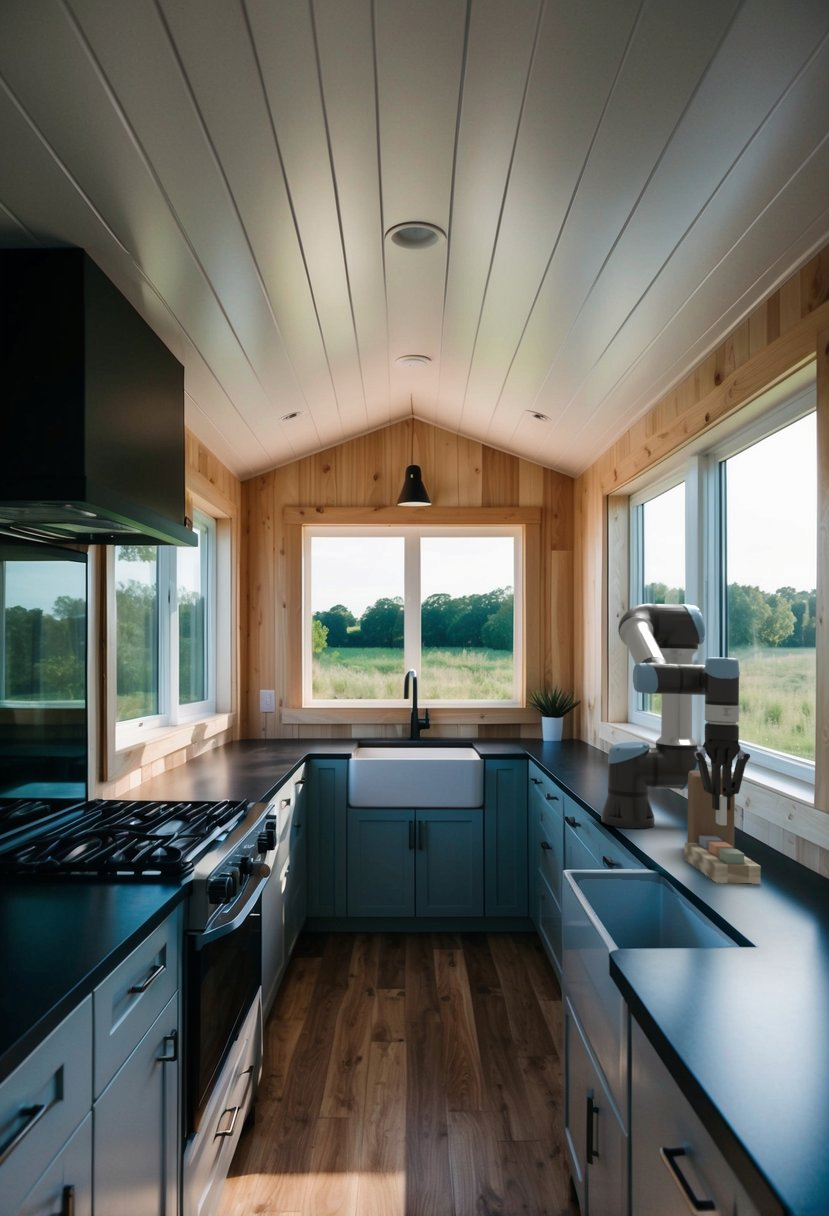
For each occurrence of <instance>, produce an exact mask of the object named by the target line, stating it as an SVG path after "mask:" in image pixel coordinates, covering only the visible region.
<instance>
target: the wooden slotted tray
mask: <svg viewBox="0 0 829 1216" xmlns="http://www.w3.org/2000/svg"><path fill="white" fill-rule="evenodd" d="M685 859H686V860H687V861H686V860H685ZM684 860H685V861H686V862H687V863H689V864H690V863H691V864H692V865H691V864H690V865H691V866H693V865H694V866H695V867H696V868H695V867H694V866H693V867H694V868H695V869H697V870H698V869H699V870H700V871H701V872H700V871H699V870H698V871H699V872H700V873H702V872H703V873H704V874H705V876H706V875H707V876H708V877H709V878H708V877H707V876H706V877H707V878H708V879H710V878H711V879H712V880H713V881H715V882H716V883H715V882H714V883H715V884H719V883H718V882H721V883H720V884H724V883H752V884H751V885H761V876H762V874H761V868H762V867H761V865H760V864H758V863H757V862H755V861H753V860H752V859H751V858H749V857H747V856H746V855H744V864H725V863H723V862H722V861H721V860H719V856H713V855H712V854H710V853H709V849H703V848H702V847H700V846H699V843H687V842H684ZM703 873H702V874H703ZM704 874H703V875H704ZM711 879H710V880H711ZM712 880H711V881H712ZM713 881H712V882H713ZM753 883H754V884H753Z"/></svg>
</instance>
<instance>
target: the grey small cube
mask: <svg viewBox="0 0 829 1216" xmlns="http://www.w3.org/2000/svg"><path fill="white" fill-rule="evenodd" d="M709 842H722V840H721V839H720V838H718V837H716V836H699V846H700V847H702V848H703V849H709Z"/></svg>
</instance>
